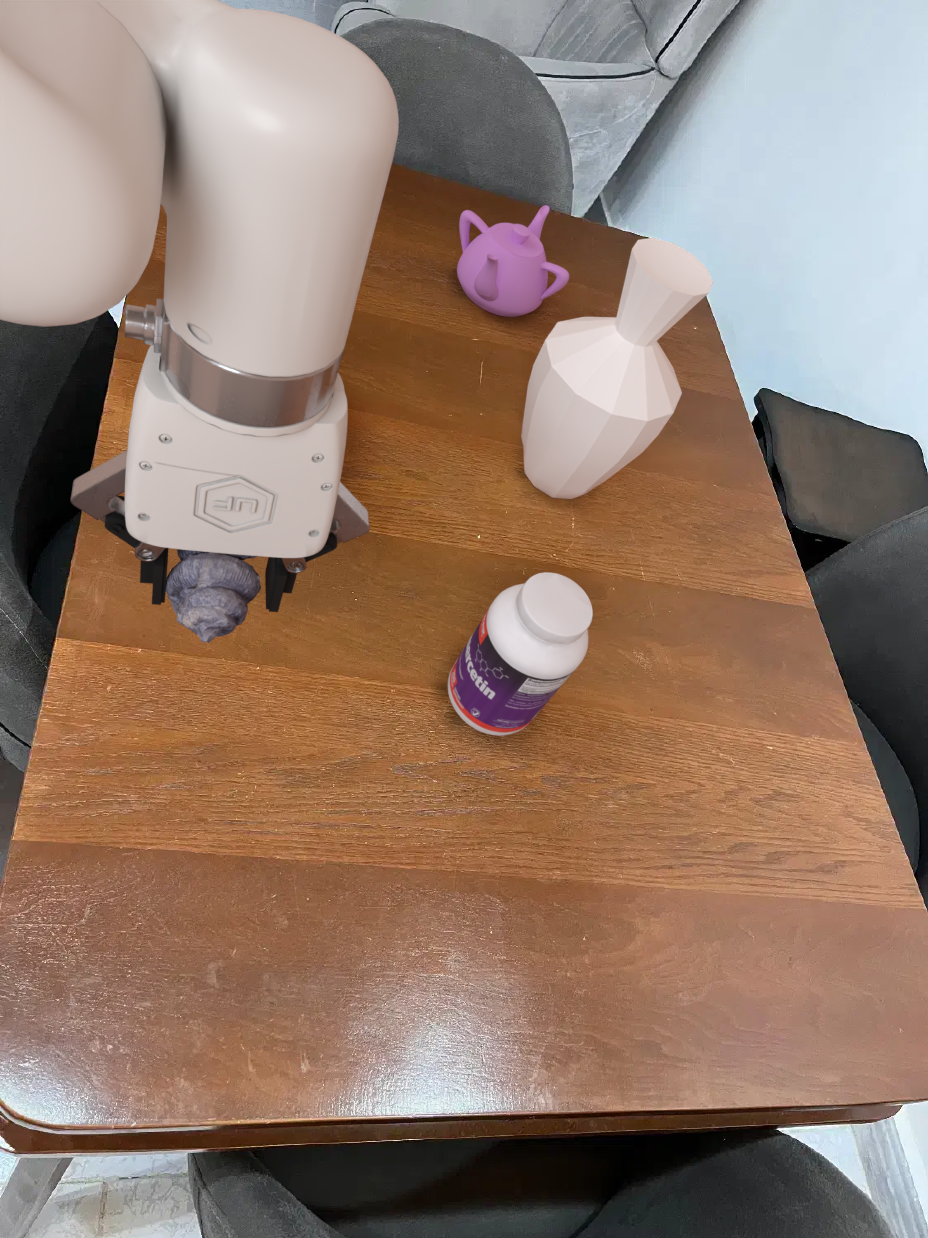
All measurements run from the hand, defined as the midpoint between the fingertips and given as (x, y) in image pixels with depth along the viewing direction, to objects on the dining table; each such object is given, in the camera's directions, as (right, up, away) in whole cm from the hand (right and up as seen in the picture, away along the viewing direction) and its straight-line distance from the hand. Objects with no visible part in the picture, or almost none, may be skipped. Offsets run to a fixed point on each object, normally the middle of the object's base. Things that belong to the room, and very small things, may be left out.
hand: (216, 587), depth 51 cm
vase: (+25, +14, +40) cm, 49 cm away
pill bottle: (+17, -9, +21) cm, 28 cm away
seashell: (0, 0, +1) cm, 1 cm away
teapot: (+19, +39, +55) cm, 71 cm away
